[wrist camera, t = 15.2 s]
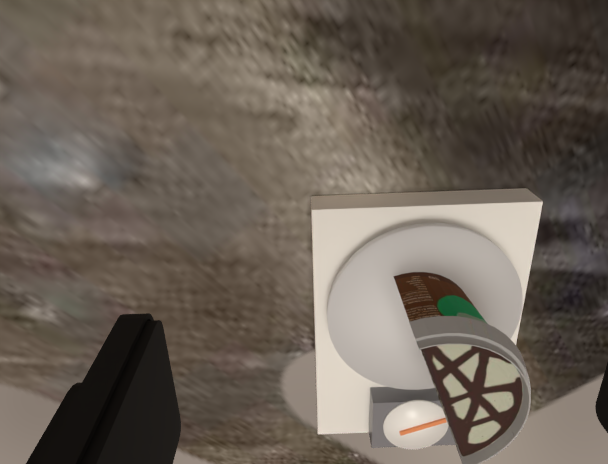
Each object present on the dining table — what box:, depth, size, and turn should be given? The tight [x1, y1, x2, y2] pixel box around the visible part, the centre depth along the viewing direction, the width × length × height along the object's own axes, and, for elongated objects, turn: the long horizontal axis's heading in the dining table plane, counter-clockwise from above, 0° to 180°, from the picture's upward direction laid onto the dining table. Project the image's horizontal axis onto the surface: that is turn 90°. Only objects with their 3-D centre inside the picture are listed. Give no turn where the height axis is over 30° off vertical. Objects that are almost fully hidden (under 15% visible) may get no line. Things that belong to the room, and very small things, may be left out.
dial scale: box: [311, 188, 543, 449], centre depth 44 cm, size 24×18×5 cm
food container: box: [393, 272, 531, 464], centre depth 36 cm, size 12×6×10 cm, turn 22°
